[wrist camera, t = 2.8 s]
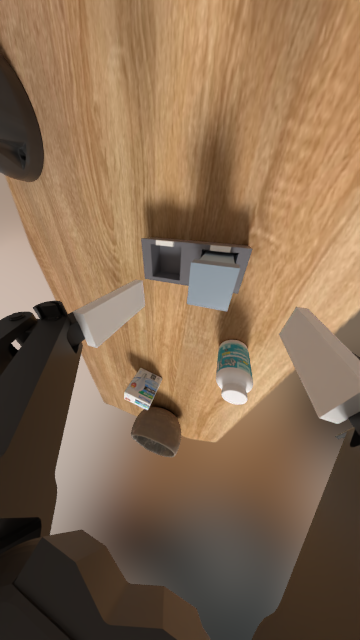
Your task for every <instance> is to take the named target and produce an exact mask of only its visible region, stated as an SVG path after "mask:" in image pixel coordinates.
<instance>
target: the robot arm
mask: <svg viewBox="0 0 360 640" xmlns="http://www.w3.org/2000/svg"><path fill="white" fill-rule="evenodd" d="M42 168H43V146H42V139H41V135H40V130H39V127H38V123H37V120H36V117H35V114H34V111H33V109H32V106H31V104H30V101H29V99H28V97H27V95H26V93H25V91H24V89H23V87H22V85H21V83H20V81H19V79H18V78H17V76H16V74H15V73H14V71H13V70H12V68H11V67H10V65H9V64H8V62H7V61H6V60H5V58H4V57H3V56H2V55H1V54H0V172H1V173H3V174H4V175H6V176H9V177H11V178H14V179H18V180H22V181H26V182H33V181H35V180H37V179H38V177H39V176H40V174H41V172H42ZM144 306H145V299H144V289H143V281H141V280H134V281H132V282H130V283H128V284H126V285H124V286H122V287H120V288H118V289H116V290H114V291H112V292H110V293H108V294H106V295H104V296H102V297H101V298H99V299H97V300H95V301H93V302H91V303H89V304H87V305H85V306H83V307H81V308H79V309H77V310H75V311H73V312H72V313H70V314H67V312H66V310H65V308H64V306H63V304H62V302H60V301H49V302H44V303H41V304H38V305H36V306H34V307H33V309H34V310H35V312H36V313H37V315H38V317H39V318H40V319H36V318H35V316H34V315H33V313H31V312H18V313H13V314H12V315H9V316H7V317H5V318H3V319H1V320H0V640H211V639H210V637H209V636H208V634H207V633H206V632H205V630H204V629H203V627H202V624H201V621H200V618H199V614H198V611H197V609H196V608H195V607H193V606H192V605H191V604H189V603H188V602H186V601H184V600H183V599H182V598H180V597H179V596H177V595H176V594H175V593H173V592H172V591H170V590H169V589H167V588H166V587H164V586H153V585H140V584H139V585H138V584H130V583H128V582H127V581H126V579H125V578H124V576H123V574H122V573H121V571H120V570H119V568H118V566H117V564H116V563H115V561H114V559H113V558H112V556H111V554H110V552H109V551H108V549H107V547H106V546H105V545H103V544H102V543H100V542H99V541H98V540H96V539H94V538H93V537H91V536H90V535H89V534H87V533H86V532H84V531H83V530H78V531H72V532H66V533H61V534H55V535H50V530H51V524H52V520H53V515H54V510H55V504H56V498H57V485H56V481H55V468H56V463H57V459H58V455H59V450H60V446H61V441H62V437H63V432H64V427H65V423H66V419H67V414H68V410H69V405H70V400H71V396H72V391H73V387H74V383H75V378H76V373H77V369H78V365H79V360H80V356H81V351H82V347H83V345H82V341H83V340H84V339H86V342H87V344H88V345H89V346H92V347H95V348H98V347H99V346H100V345H101V344H102V343H103V342H104V341H106V340H107V339H108V338H109V337H110V336H111V335H112V334H114V333H115V332H116V331H117V330H118V329H119V328H120V327H121V326H123V325H124V324H125V323H126V322H127V321H128V320H129V319H131V318H132V317H133V316H134V315H135V314H136V313H137V312H139V311H140V310H141V309H142V308H143V307H144ZM279 335H280V337H281V339H282V342H283V344H284V346H285V348H286V350H287V352H288V354H289V356H290V358H291V360H292V362H293V365H294V367H295V369H296V371H297V373H298V375H299V377H300V379H301V381H302V383H303V385H304V388H305V390H306V392H307V394H308V396H309V398H310V400H311V402H312V404H313V406H314V409H315V410H316V413H317V415H318V417H319V418H321V419H324V420H327V421H330V422H333V423H336V424H339V423H341V422H343V421H345V420H346V419H349V420H350V422H351V423H352V425H353V426H354V427H353V428H351V429H349V430H346V431H344V432H342V433H340V434H338V435H337V436H336V438H338V439H340V438H342V437H343V438H345V439H344V441H343V444H342V446H341V449H340V451H339V454H338V457H337V459H336V462H335V464H334V467H333V469H332V472H331V474H330V477H329V480H328V482H327V485H326V487H325V490H324V492H323V495H322V497H321V500H320V503H319V505H318V508H317V510H316V513H315V516H314V518H313V521H312V523H311V526H310V528H309V531H308V533H307V536H306V538H305V541H304V544H303V546H302V549H301V551H300V554H299V556H298V559H297V561H296V564H295V566H294V569H293V572H292V574H291V577H290V579H289V582H288V585H287V587H286V589H285V592H284V595H283V597H282V600H281V602H280V604H279V606H278V608H277V609H276V611H275V612H274V613H273V614H271V615H269V616H268V617H266V618H264V619H263V621H262V622H261V623H260V624H259V626H258V628H257V630H256V632H255V634H254V636H253V638H252V640H360V357H358V356H357V355H356V354H354V353H353V352H351V351H350V350H349V349H348V348H347V347H346V346H345V345H344V344H342V342H341V341H340V340H339V339H338V338H337V337H336V336H335V335H334V334H333V333H332V332H331V331H330V330H329V329H328V328H327V327H326V326H325V325H324V324H323V323H322V322H321V321H320V320H319V319H318V318H317V317H316V316H315V315H314V314H313V313H312V312H311V311H310V310H309V309H306V308H300V307H296V308H295V310H294V311H293V313H292V314H291V316H290V318H289V319H288V321H287V322H286V324H285V326H284V327H283V329H282V330H281V332H280V334H279ZM15 339H16V340H17V342H18V343H19V344H20V345H21V346H22V347H21V348H20V349H19V350H17V349H16V348H15V347H13V345H12V344H11V343H12V342H13V341H14V340H15Z"/></svg>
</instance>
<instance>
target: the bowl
mask: <svg viewBox="0 0 360 640" xmlns="http://www.w3.org/2000/svg"><path fill="white" fill-rule="evenodd" d="M131 437H132V438H133V439H134V440H136V442H138V443H139V444H140V445H141V446H143V447H144V448H146V449H147V450H149V451H151V452H153V453H156V454H158V455H162V456H165V457H174V456H175V455H176V453H177V451H178V448H179V445H180V440H181V428H180V424H179V422H178V419H177V418H176V416H175V415H174V414H172V413H171V412H170V411H168V410H166V409H163V408H159V407H149V409H148V410H146V409H144V410H143V411H142V412H141V413H140V414H139V415H138V417H137V418H136V420H135V422H134V425H133V427H132V432H131Z"/></svg>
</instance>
